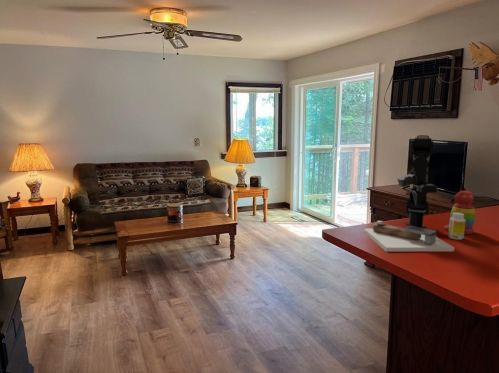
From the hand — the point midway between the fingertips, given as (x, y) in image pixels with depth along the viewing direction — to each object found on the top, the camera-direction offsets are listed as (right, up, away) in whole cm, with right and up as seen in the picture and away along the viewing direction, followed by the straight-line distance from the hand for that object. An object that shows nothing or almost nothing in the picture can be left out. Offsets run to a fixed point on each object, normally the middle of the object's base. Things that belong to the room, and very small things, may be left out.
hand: (417, 205), depth 153 cm
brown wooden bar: (-11, -11, -5) cm, 17 cm away
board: (-8, -13, -8) cm, 18 cm away
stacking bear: (+22, -11, +7) cm, 25 cm away
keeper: (-5, -13, -13) cm, 19 cm away
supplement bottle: (+14, -13, -4) cm, 20 cm away
